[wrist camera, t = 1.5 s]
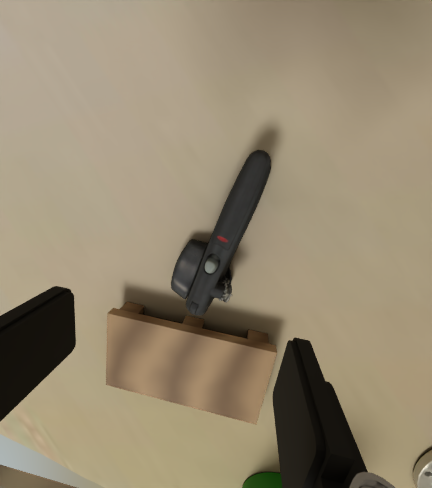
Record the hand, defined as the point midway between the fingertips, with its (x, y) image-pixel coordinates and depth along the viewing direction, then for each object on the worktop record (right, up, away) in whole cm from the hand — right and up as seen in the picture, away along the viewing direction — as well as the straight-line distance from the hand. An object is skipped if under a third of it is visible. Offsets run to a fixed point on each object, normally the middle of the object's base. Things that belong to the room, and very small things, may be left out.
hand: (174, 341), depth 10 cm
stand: (-2, -10, +21) cm, 23 cm away
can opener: (+3, +5, +16) cm, 17 cm away
